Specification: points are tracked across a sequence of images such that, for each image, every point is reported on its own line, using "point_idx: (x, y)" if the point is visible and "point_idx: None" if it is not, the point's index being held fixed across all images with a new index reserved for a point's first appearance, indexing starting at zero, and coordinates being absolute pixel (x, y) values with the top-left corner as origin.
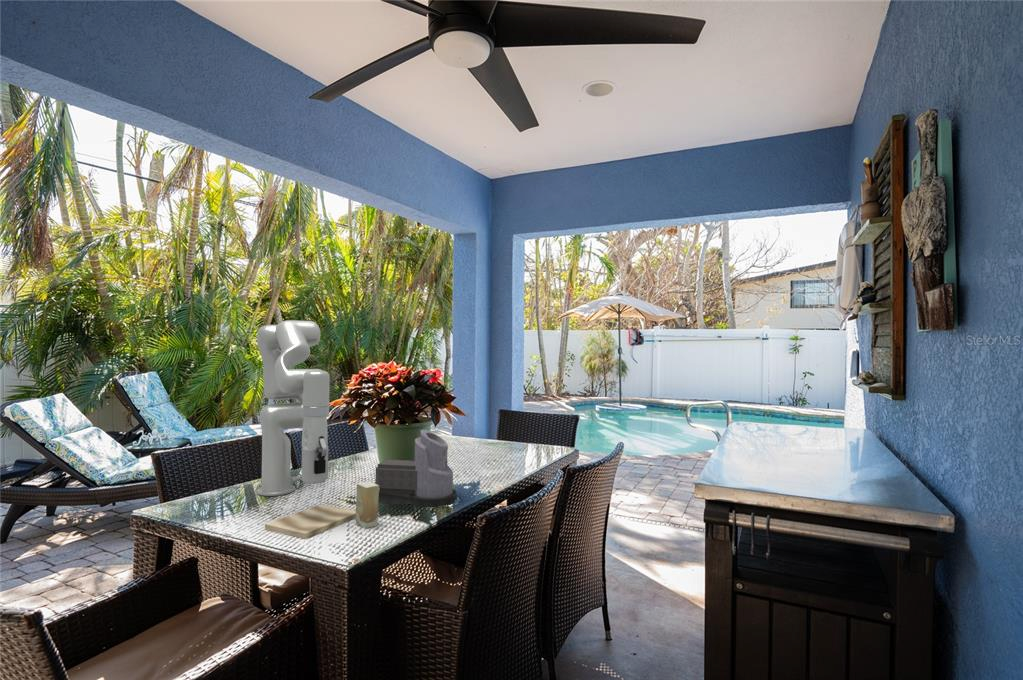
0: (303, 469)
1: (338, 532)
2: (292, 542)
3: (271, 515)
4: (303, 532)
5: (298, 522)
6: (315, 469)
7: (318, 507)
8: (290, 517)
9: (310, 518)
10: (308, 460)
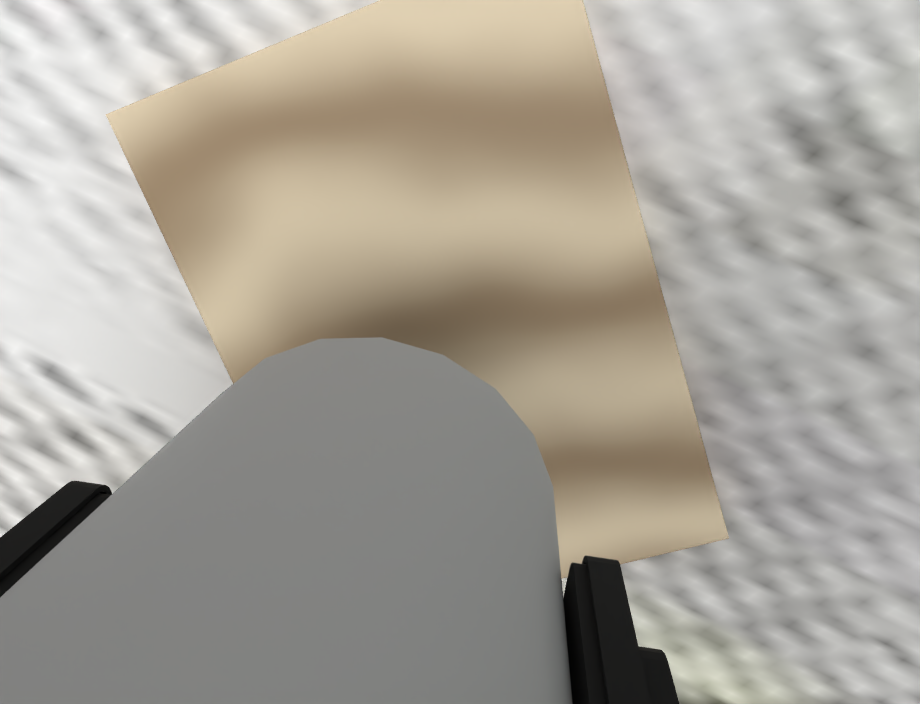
0: (282, 412)
1: (133, 353)
2: (112, 3)
3: (894, 145)
4: (136, 112)
5: (402, 189)
6: (28, 532)
7: (662, 480)
8: (579, 194)
9: (436, 308)
10: (32, 574)
